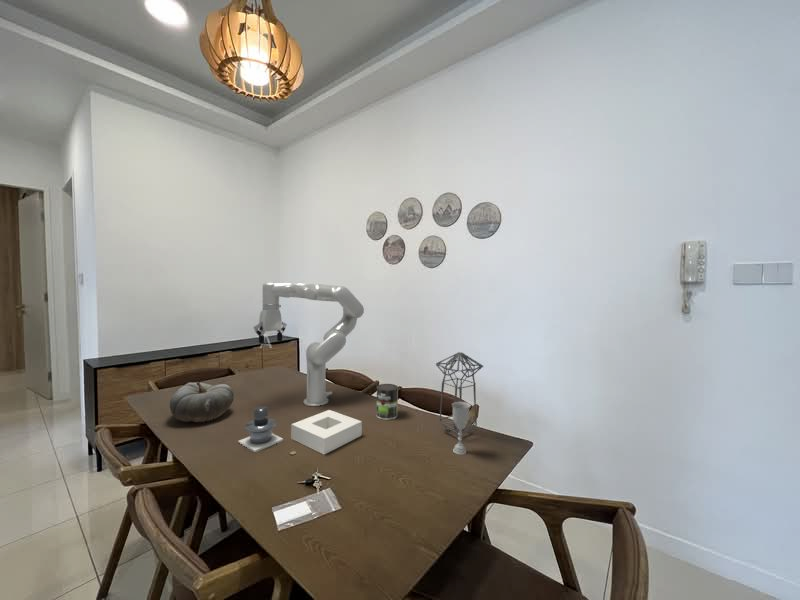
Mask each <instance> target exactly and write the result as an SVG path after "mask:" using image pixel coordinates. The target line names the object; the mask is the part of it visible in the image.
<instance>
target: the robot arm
mask: <svg viewBox="0 0 800 600" xmlns="http://www.w3.org/2000/svg"><path fill="white" fill-rule="evenodd" d="M280 298H300V299H305V300H310V301H321V302H335V303H338V304H340V306H341V307H342V317H341V319H340V320H339V321H338V322H337V323H336V324H335V325H334V326H332V327H331V328H330V329H329V330H328V331H326V332H325V333H324V334H323V341H321V343H320V342H318V341H317V342H311V343H310V344H309V345H308V346H307V348H306V351H305V358H306V359H305V361H306V398H304V400H303V404H304V405H305V406H308V407H320V405H321V406H324V405H326V404H328V403H329V398H328V396H332V395H333V392H332V391H326V368H327V367H326V363H328V362H329V361H330V360H331V359H333V357H335V356H336V355H337V354H338V353H339V352H340V351H342V350H343V349H344V347H345V346H346V342H347V337H348V336H349V335H350V333H351V332H352V331H353V330H355V328H356V326H357V321H358V319H359V318H361V317H362V316H363V315H364V311H365V308H364V306H363V304H362V303H361V302H360V300H359V299H358V298H356V296H355V295H354V294H353V293H352V291H350V289H348V287H346V286H344V285H343V286H342V285H332V284H331V285H330V284H320V283H319V284H318V283H297V282H296V283H295V282H290V281H289V282H264V283H263V284H262V310H260V313H259V318H258V319H259V320H258V324H256V325H255V326H253V330H254V332H255V333H256V334H257V336H258V344H261V345H264V344H265V335H264V334H265V333H266V332H273V331H276V332H277V334H276V341H278V342H282V341H283V334H284V332H285V330H286V328H287V326H288V324H287V323H286V322H283V321H282V314H281V310H280V309H281V308H282V306H281V304H280Z"/></svg>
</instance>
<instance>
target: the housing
mask: <svg viewBox="0 0 800 600" xmlns="http://www.w3.org/2000/svg"><path fill="white" fill-rule="evenodd" d="M362 424H363V421H362V420H359V419H356V418H354V417H351V416H348V415H345V414H342V413H340V412H337V411H333V410H331V409H327V410H324V411H322V412H320V413H317V414H314V415H312V416H309V417H307V418H303V419H301V420H299V421H297V422H293V423H291V424H290V428H291V429H290V439H291V440H293V441H294V442H297V443H299V444H301V445H303V446H305V447H306V448H310V449H312V450H314V451H316V452H318V453H320V454H322V455H326V454H328V453H331V452H333V451H334V450H336V449H339V448H340V447H342V446H344V445H346V444H348V443H350V442H351V441H354V440H357V438H359V437H361V436H362V433H363V432H362V430H363V429H362V427H363V425H362Z"/></svg>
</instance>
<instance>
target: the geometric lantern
mask: <svg viewBox="0 0 800 600" xmlns="http://www.w3.org/2000/svg"><path fill="white" fill-rule="evenodd" d="M446 360H448V361H447V362H444V361H446ZM456 363H457V365H456V369H453V368H454V365H455V364H456ZM460 363H461V370H460ZM473 363H474V364H473ZM444 365H445V366H444ZM449 365H450V366H449ZM467 365H468V367H467ZM435 366H436V367H437V368H438V369H439V370H440V371H441V372H442V374H443V379H442V381H441V392H440V393H441V394H440V405H439V406H440V407H439V420H438V422H439V423H440V424H441V425H442V426H444V428H445V433H447V434H449V435H451V436H453V437H455V438H457V439H458V438H459V435H458V433H459V429H457V427H456V425H455V423H454V422H453V423H451V424H446V423H445V422H443V420H446V419H448V418H453V414H451V415H449V416H446V417H442V410H443V408H442V406H443V399H444V387H445V385H447V386H450V387H453V388H454V402H457V396H458V389H459V402H463V400H462V398H463V397H462V395H463V393H462V391H463V390H462V389H464V388H465V389H466V388H469V387H473V401H474V402H473V403H474V404H473V405H474V406H473V407H474V420H473V419H471V418H469V419H468V421H471V422H472V425H469V426H468V425H466V426H465V427H464V429H462V431H461V432H462V433H465V432H466V433H467V434H465V435H463V436H461V438H462V439H463V438H464V437H467V436H469V435H471V430H472V429H473V428H475V427H477V425H478V423H477V422H478V420H477V401H476V400H477V395H476V384H477V383H476V382H475V374H476V373H477V372H479V371H480V370H481V369H482V368H484V365H483V364H481V363H480V362H478V361H476V360H475V359H473V358H472V357H470V356H469V355H467V354H465V353H464V352H460V351H458V352H456V353H455V354H453V355H449V357H446V358H444V359H442V360H440V361H438V362H436V363H435ZM448 366H449V367H448ZM464 368H465V369H464ZM450 371H451V373H450ZM457 372H461V373H462V374H463V375H462V377H461V378H459V377H457V375H456V374H455V373H457ZM470 372H471V374H470ZM452 375H454V376H455V378H453V377H452ZM447 376H449V378H450V379H447V380H446V377H447ZM464 377H465V378H464ZM470 377H472V381H469V380H467V379H468V378H470ZM454 380H456V382H455V381H454ZM449 381H452V383H453V385H452V384H449V383H446V382H449ZM458 381H460V385H459V386H458V383H459V382H458ZM464 382H468V383H470V384H471V385H466V386H462V385H463V384H464ZM452 425H453V427H452ZM449 430H450V431H451V432H454V433H456V434H457V435H454V434H453V433H451V432H449Z"/></svg>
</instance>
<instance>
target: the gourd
mask: <svg viewBox="0 0 800 600" xmlns="http://www.w3.org/2000/svg"><path fill="white" fill-rule="evenodd" d="M234 394H235V393H234V391H233V388H232V387H231V386H230V385H228V384H226V383H225V384H223V383H221V384H216V385H212V384H207V383H203V382H200V381H196V382H187V383H186V384H184V385H183V386H181V387H180V388H178V390H176V392H174V394H173V395H172V396H171V397H170V400H169V409H170V413H171V415H172V417H173V418H175V419H177V420H178V421H182V422H183V423H190V422H193V423H204V422H205V421H207V422H210V420H211V421H213V419H214V420H216V419H218V418H219V417H221V416H222V415H224V414H225V413H226V412H227V411H228V409H229V408H230V407H231V406H232V404H233V401H234V399H235V397H234V396H235V395H234Z"/></svg>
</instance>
